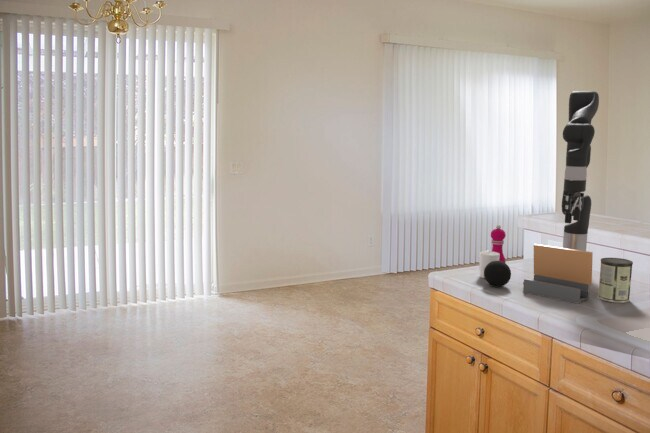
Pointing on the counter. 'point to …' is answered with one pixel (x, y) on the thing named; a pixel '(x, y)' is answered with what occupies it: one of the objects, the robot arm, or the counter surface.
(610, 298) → the coffee can
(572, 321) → the counter surface
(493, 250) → the pepper mill
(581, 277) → the brown flat rectangular panel
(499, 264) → the speaker
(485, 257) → the white cup
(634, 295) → the counter surface
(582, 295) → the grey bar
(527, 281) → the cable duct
